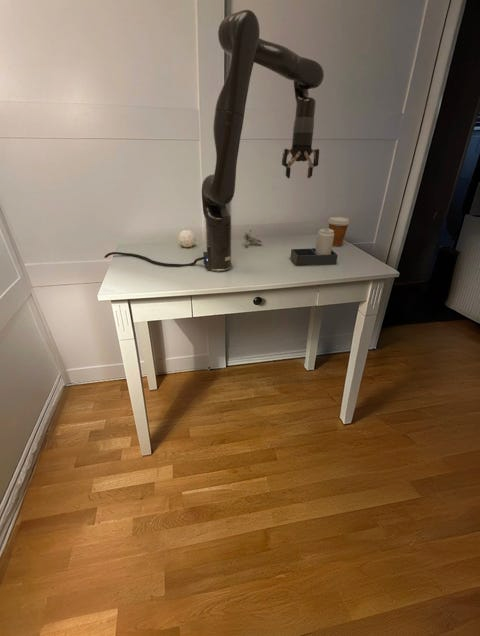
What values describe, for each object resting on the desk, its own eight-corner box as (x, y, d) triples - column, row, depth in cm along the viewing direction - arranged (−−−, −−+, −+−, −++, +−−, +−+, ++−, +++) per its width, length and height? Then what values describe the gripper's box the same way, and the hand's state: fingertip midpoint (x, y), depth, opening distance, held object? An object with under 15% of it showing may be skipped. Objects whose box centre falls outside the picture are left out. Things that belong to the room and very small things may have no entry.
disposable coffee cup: (339, 248, 143) (344, 222, 137) (321, 244, 149) (324, 218, 143) (348, 244, 150) (353, 218, 143) (330, 240, 155) (334, 215, 149)
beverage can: (328, 256, 132) (333, 228, 126) (331, 262, 127) (336, 232, 120) (313, 256, 133) (317, 227, 126) (315, 261, 127) (319, 232, 121)
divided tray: (295, 266, 125) (297, 256, 123) (290, 258, 132) (291, 249, 130) (336, 264, 127) (337, 254, 125) (328, 257, 134) (329, 247, 132)
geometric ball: (186, 251, 147) (185, 234, 148) (199, 247, 143) (198, 230, 144) (174, 246, 141) (174, 229, 142) (188, 243, 137) (187, 225, 137)
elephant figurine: (261, 249, 142) (243, 242, 140) (257, 255, 148) (239, 248, 146) (265, 231, 146) (247, 224, 144) (261, 237, 151) (243, 230, 149)
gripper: (287, 131, 114) (283, 179, 122) (324, 131, 115) (318, 179, 124) (282, 131, 120) (279, 176, 129) (318, 131, 122) (312, 176, 130)
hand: (298, 178), depth 126 cm, fingers open, 8 cm apart
